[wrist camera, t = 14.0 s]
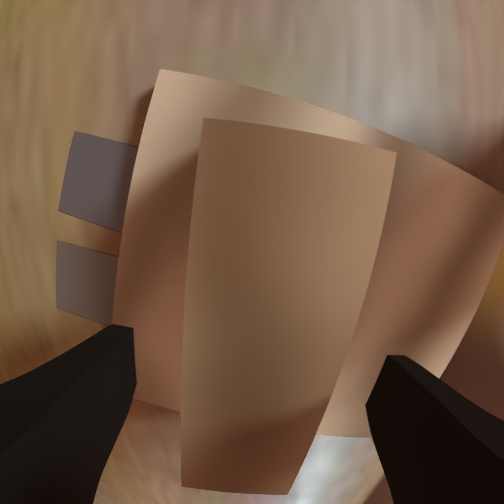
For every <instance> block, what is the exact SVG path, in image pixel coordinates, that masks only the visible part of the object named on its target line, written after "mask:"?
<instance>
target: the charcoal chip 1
mask: <svg viewBox="0 0 504 504" xmlns="http://www.w3.org/2000/svg"><path fill="white" fill-rule="evenodd" d="M138 148H139V147H136V146H132V145H128V144H125V143H121V142H117V141H113V140H109V139H105V138H101V137H97V136H93V135H89V134H84V133H80V132H76V131H75V133H74V137H73V141H72V145H71V149H70V153H69V158H68V162H67V167H66V172H65V177H64V182H63V187H62V193H61V199H60V205H59V211H60V212H63V213H66V214H69V215H72V216H74V217H77V218H80V219H83V220H86V221H89V222H92V223H95V224H98V225H101V226H104V227H107V228H110V229H112V230H115V231H118V232H121V233H122V230H123V224H124V218H125V212H126V206H127V201H128V195H129V190H130V185H131V180H132V175H133V170H134V166H135V161H136V157H137V152H138Z"/></svg>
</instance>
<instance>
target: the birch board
mask: <svg viewBox="0 0 504 504" xmlns="http://www.w3.org/2000/svg"><path fill="white" fill-rule="evenodd" d="M203 118H213V119H223V120H232V121H240V122H248V123H255V124H262V125H269V126H275V127H281V128H287V129H293V130H299V131H304V132H310V133H315V134H320V135H325V136H330V137H335V138H339V139H344V140H348V141H353V142H357V143H361V144H365V145H370V146H374V147H378V148H381V149H385V150H389V151H393V152H396V153H397V155H396V161H395V167H394V173H393V179H392V184H391V190H390V195H389V200H388V205H387V210H386V214H385V219H384V224H383V228H382V232H381V237H380V241H379V245H378V249H377V253H376V257H375V261H374V265H373V269H372V273H371V277H370V280H369V284H368V288H367V291H366V295H365V298H364V301H363V305H362V308H361V312H360V315H359V318H358V321H357V325H356V328H355V331H354V334H353V337H352V340H351V343H350V346H349V349H348V352H347V355H346V358H345V361H344V363H343V366H342V369H341V372H340V375H339V377H338V380H337V383H336V385H335V388H334V391H333V393H332V396H331V398H330V401H329V403H328V406H327V408H326V411H325V413H324V416H323V418H322V421H321V423H320V425H319V428H318V430H317V433H316V435H326V436H342V437H372V436H371V433H370V428H369V423H368V418H367V412H366V407H365V404H366V402H367V400H368V398H369V396H370V394H371V391H372V389H373V387H374V385H375V382H376V380H377V378H378V376H379V373H380V371H381V369H382V366H383V364H384V361H385V359H386V356H387V355H405V356H407V357H409V358H410V359H412V360H414V361H415V362H417V363H418V364H420V365H421V366H422V367H424V368H425V369H427V370H428V371H429V372H431V373H432V374H433V375H435V376H436V377H438V378H440V376H441V375H442V373H443V371H444V370H445V368H446V366H447V365H448V363H449V361H450V360H451V358H452V356H453V354H454V353H455V351H456V349H457V347H458V345H459V344H460V342H461V340H462V338H463V336H464V334H465V332H466V330H467V329H468V327H469V325H470V323H471V321H472V318H473V316H474V314H475V312H476V310H477V308H478V306H479V304H480V302H481V300H482V297H483V295H484V293H485V291H486V288H487V286H488V284H489V281H490V279H491V277H492V274H493V272H494V269H495V267H496V264H497V261H498V259H499V256H500V254H501V251H502V248H503V245H504V194H502V193H501V192H499V191H497V190H496V189H494V188H493V187H491V186H489V185H488V184H486V183H484V182H483V181H481V180H479V179H477V178H476V177H474V176H472V175H470V174H469V173H467V172H465V171H463V170H461V169H460V168H458V167H456V166H454V165H452V164H450V163H448V162H446V161H444V160H443V159H441V158H439V157H437V156H435V155H433V154H431V153H429V152H427V151H424V150H422V149H420V148H418V147H416V146H414V145H412V144H410V143H408V142H405V141H403V140H401V139H399V138H396V137H394V136H392V135H390V134H387V133H385V132H383V131H380V130H378V129H375V128H373V127H370V126H368V125H365V124H363V123H360V122H358V121H355V120H353V119H350V118H347V117H345V116H342V115H339V114H336V113H334V112H331V111H328V110H325V109H322V108H319V107H316V106H313V105H310V104H307V103H304V102H301V101H298V100H294V99H291V98H288V97H284V96H281V95H277V94H274V93H270V92H267V91H263V90H259V89H255V88H252V87H248V86H244V85H240V84H235V83H231V82H227V81H222V80H218V79H213V78H208V77H203V76H198V75H193V74H187V73H181V72H175V71H169V70H163V69H160V72H159V75H158V78H157V81H156V84H155V88H154V91H153V95H152V98H151V101H150V105H149V109H148V112H147V116H146V120H145V124H144V127H143V131H142V135H141V140H140V144H139V148H138V152H137V157H136V161H135V166H134V170H133V175H132V180H131V185H130V190H129V195H128V201H127V206H126V212H125V218H124V224H123V230H122V237H121V244H120V251H119V259H118V267H117V275H116V284H115V294H114V305H113V318H112V324H116V325H121V326H126V327H131V328H133V329H134V349H135V365H136V378H137V385H136V389H135V392H134V396H133V399H136V400H139V401H142V402H145V403H149V404H152V405H156V406H159V407H163V408H167V409H171V410H174V411H178V412H181V373H182V344H183V322H184V304H185V289H186V274H187V261H188V249H189V238H190V227H191V216H192V207H193V197H194V188H195V179H196V171H197V163H198V155H199V147H200V140H201V132H202V125H203Z"/></svg>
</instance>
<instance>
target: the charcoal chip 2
mask: <svg viewBox="0 0 504 504" xmlns="http://www.w3.org/2000/svg"><path fill="white" fill-rule="evenodd" d="M118 259H119V257H116V256H112V255H109V254H105V253H101V252H98V251H94V250H91V249H87V248H83V247H80V246H76V245H73V244H69V243H66V242H62V241H59V240H58V241H57V269H56V298H57V308H59V309H61V310H64V311H67V312H70V313H73V314H75V315H78V316H81V317H84V318H87V319H90V320H93V321H96V322H99V323H102V324H105V325H109V326H110V325H112V318H113V305H114V294H115V284H116V275H117V267H118Z"/></svg>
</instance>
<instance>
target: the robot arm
mask: <svg viewBox="0 0 504 504" xmlns="http://www.w3.org/2000/svg"><path fill="white" fill-rule="evenodd" d="M136 385H137V378H136V365H135V349H134V329H133V328H131V327H126V326H121V325H116V324H112V325H110V326H108V327H106V328H105V329H103V330H101V331H100V332H98V333H96V334H95V335H93V336H92V337H90V338H88V339H87V340H85V341H83V342H82V343H80V344H78V345H77V346H75V347H73V348H72V349H70V350H68V351H67V352H65V353H63V354H62V355H60V356H58V357H56V358H54V359H53V360H51V361H49V362H47V363H45V364H43V365H41V366H39V367H38V368H36V369H34V370H32V371H30V372H28V373H26V374H24V375H22V376H19V377H17V378H15V379H12V380H10V381H7V382H5V383H2V384H0V504H93V501H94V497H95V494H96V490H97V486H98V483H99V480H100V477H101V475H102V472H103V469H104V467H105V465H106V462H107V460H108V458H109V455H110V453H111V451H112V449H113V446H114V444H115V442H116V440H117V437H118V435H119V433H120V431H121V428H122V426H123V424H124V421H125V419H126V417H127V415H128V412H129V409H130V406H131V402H132V399H133V396H134V392H135V389H136ZM365 407H366V412H367V418H368V423H369V428H370V433H371V436H372V439H373V442H374V444H375V447H376V450H377V453H378V456H379V459H380V462H381V465H382V467H383V470H384V473H385V476H386V479H387V482H388V485H389V488H390V491H391V495H392V499H393V503H394V504H504V421H503V420H501V419H499V418H497V417H495V416H493V415H492V414H490V413H488V412H486V411H485V410H484V409H482V408H480V407H479V406H477V405H476V404H474V403H473V402H471V401H470V400H468V399H467V398H465V397H464V396H462V395H461V394H460V393H458V392H457V391H455V390H454V389H453V388H451V387H450V386H448V385H447V384H446V383H444V382H443V381H442V380H440V379H439V378H438V377H436V376H435V375H433V374H432V373H431V372H429V371H428V370H427V369H425V368H424V367H422V366H421V365H420V364H418V363H417V362H415V361H414V360H412V359H410V358H409V357H407V356H405V355H387V356H386V359H385V361H384V364H383V366H382V369H381V371H380V373H379V376H378V378H377V380H376V382H375V385H374V387H373V389H372V391H371V394H370V396H369V398H368V400H367V402H366V404H365Z"/></svg>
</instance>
